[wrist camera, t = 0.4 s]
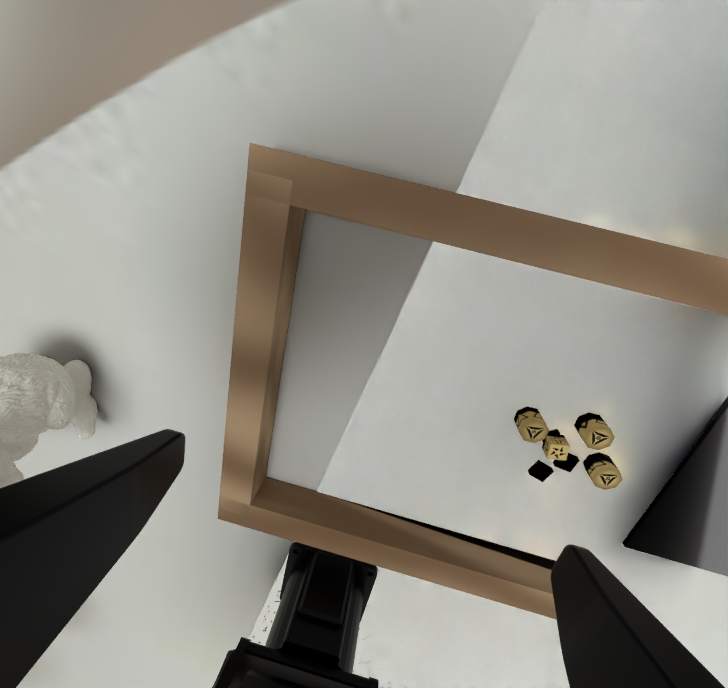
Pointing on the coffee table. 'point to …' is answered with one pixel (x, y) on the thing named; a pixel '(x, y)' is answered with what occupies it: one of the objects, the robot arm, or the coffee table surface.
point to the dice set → (557, 446)
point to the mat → (692, 506)
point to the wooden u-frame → (436, 223)
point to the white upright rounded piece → (40, 405)
